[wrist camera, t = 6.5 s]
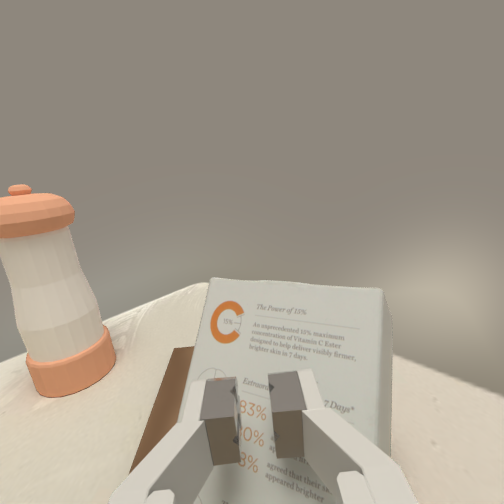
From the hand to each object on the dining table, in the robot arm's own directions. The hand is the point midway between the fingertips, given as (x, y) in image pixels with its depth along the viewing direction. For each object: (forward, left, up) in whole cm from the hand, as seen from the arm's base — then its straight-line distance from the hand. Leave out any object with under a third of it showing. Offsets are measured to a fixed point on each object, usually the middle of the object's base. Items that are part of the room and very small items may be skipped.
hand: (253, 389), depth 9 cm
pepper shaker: (-19, +18, -12) cm, 28 cm away
